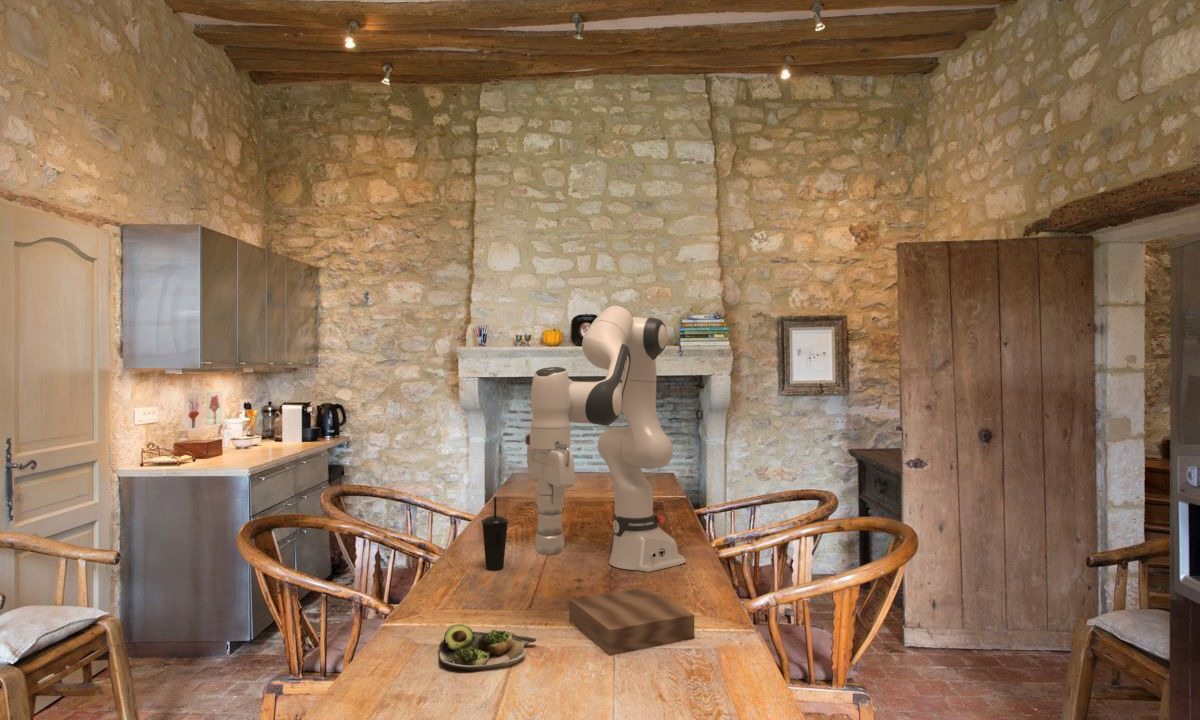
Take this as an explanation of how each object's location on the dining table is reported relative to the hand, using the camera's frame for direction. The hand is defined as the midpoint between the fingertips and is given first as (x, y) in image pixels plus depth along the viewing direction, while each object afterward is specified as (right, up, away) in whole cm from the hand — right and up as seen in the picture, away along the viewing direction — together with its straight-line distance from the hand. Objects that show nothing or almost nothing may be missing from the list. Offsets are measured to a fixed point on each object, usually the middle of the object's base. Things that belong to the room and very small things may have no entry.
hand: (550, 501), depth 155 cm
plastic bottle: (0, -12, 0) cm, 12 cm away
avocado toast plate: (-13, -27, -17) cm, 35 cm away
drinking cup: (-19, -27, +40) cm, 52 cm away
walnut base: (+18, -27, -5) cm, 32 cm away
